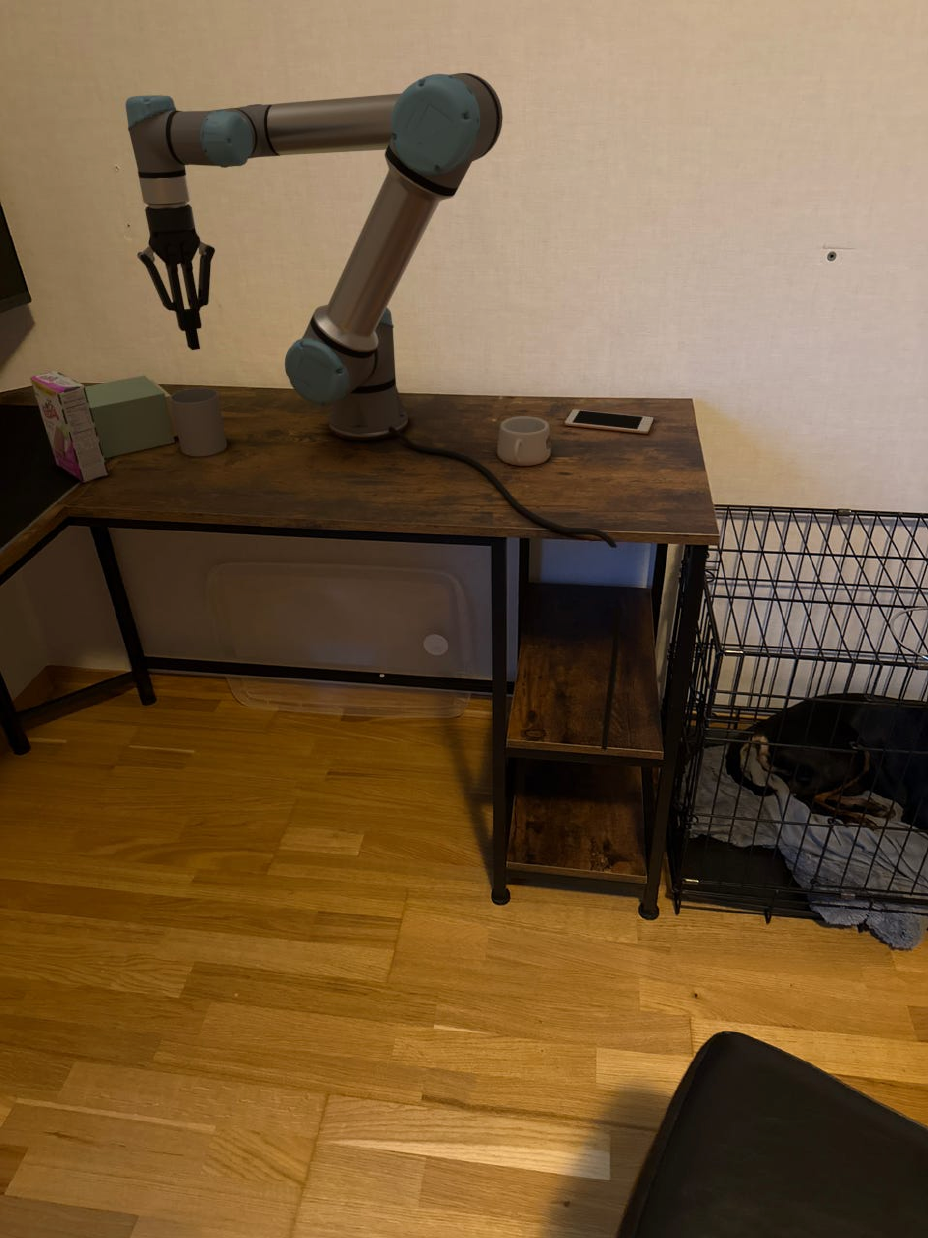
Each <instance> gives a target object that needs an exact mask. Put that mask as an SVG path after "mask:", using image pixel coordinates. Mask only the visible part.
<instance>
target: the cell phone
mask: <svg viewBox="0 0 928 1238" xmlns="http://www.w3.org/2000/svg"><path fill="white" fill-rule="evenodd" d="M653 422H654V417H653V416H647V415H646V416H645V415H637V414H636V415H635V414H626V413H617V412H616V413H615V412H608V411H607V412H605V411H597V410H587V409H585V410H584V409H574V408H573V409H572V411H570V413H569V415H568V417H567V418H566V420H564V426H568V427H578V428H588V429H597V430H604V431H605V430H607V431H615V432H626V433H634V434H644V435H647V434H649V432H650V429H651V427H652V426H653V425H652V424H653Z"/></svg>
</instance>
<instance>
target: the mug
mask: <svg viewBox="0 0 928 1238" xmlns="http://www.w3.org/2000/svg"><path fill="white" fill-rule="evenodd" d="M550 431H551V430H550V424H549V422H547V421H546V420H545V419H542V418H540V417H536V416H530V415H528V416H527V415H523V416H522V415H521V416H513V417H509V418H507V419H504V420H502V422H500V424H499V431H498V440H497V447H496V455H497V456H498V458H499V459H500V460H501V461H502V462H503V463H506V464H509V465H513V466H520V467H528V466H535V465H540V464H543V463H544V462H546V461H547V460H548V459H550V457H551V453H552V444H551V432H550Z"/></svg>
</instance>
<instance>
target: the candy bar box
mask: <svg viewBox="0 0 928 1238" xmlns="http://www.w3.org/2000/svg"><path fill="white" fill-rule="evenodd" d="M29 380H30V383H31V386H32V390H33V392H34V396H35V399H36V402H37V405H38V409H39V413H40V416H41V419H42V421H43V424H44V428H45V430H46V434H47V438H48V441H49V444H50V448H51V450H52V454H53V458H54V460H55V464H56V466H57V467H59V468H61V469H62V470H64V471H65V472H66V473H68V474H70V475H71V476H73V477H74V478H76V479H77V480H79V481H80V482H82V483H83V484H85V483H89V482H92V481H95V480H97V479H101V478H104V477H107V476H109V472H108V468H107V464H106V459H105V458H104V456H103V452H102V449H101V445H100V442H99V438H98V434H97V431H96V427H95V423H94V419H93V416H92V412H91V408H90V405H89V401H88V398H87V394H86V390H85V387H86V385H84V384H82V383H80V382H78V381H77V380H75V379H73V378H71V377H68V376H67V375H65V374H63V373H61V372H60V371H57V370H53V371H50V372H44V373H40V374H35V375H33V376H30V377H29Z"/></svg>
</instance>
